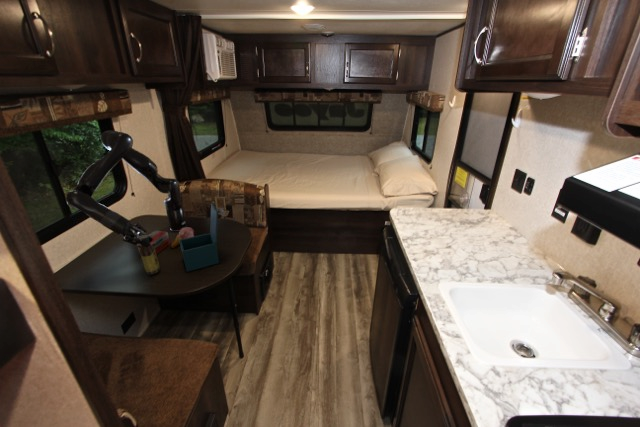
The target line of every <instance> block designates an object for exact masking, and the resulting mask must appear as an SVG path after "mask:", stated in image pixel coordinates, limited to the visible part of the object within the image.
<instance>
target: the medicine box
mask: <svg viewBox="0 0 640 427" xmlns="http://www.w3.org/2000/svg"><path fill="white" fill-rule="evenodd" d="M147 235H148V236H150V237H152V238H153V240H152V242H150V244H151V245H153V246H154V248H155V251H156V255H158V254H159V253H160V252H162V251H163V250H164V249H166V247H168V246H169V245H171V240H170V235H169V233H168V231H163V230H162V231H161V230H153V231H152V232H151V233H150V234H147ZM136 246H137V250H138V253H139V255H140V256H141V253H140V248H141V244H137V245H136Z"/></svg>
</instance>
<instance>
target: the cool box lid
mask: <svg viewBox="0 0 640 427" xmlns="http://www.w3.org/2000/svg"><path fill="white" fill-rule="evenodd" d="M219 215H221V216H222V217H223V216H226V212H225V210H224V209H223V208H222V207H221V208H219V209H217V208H216V206H215V205H214V203H210V219H209V220H210V222H209V223H210V224H209V233H211V235H212V237H213V239H214V241H215V243H216V244H217V243H218V227H219V226H218V224H219Z"/></svg>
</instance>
